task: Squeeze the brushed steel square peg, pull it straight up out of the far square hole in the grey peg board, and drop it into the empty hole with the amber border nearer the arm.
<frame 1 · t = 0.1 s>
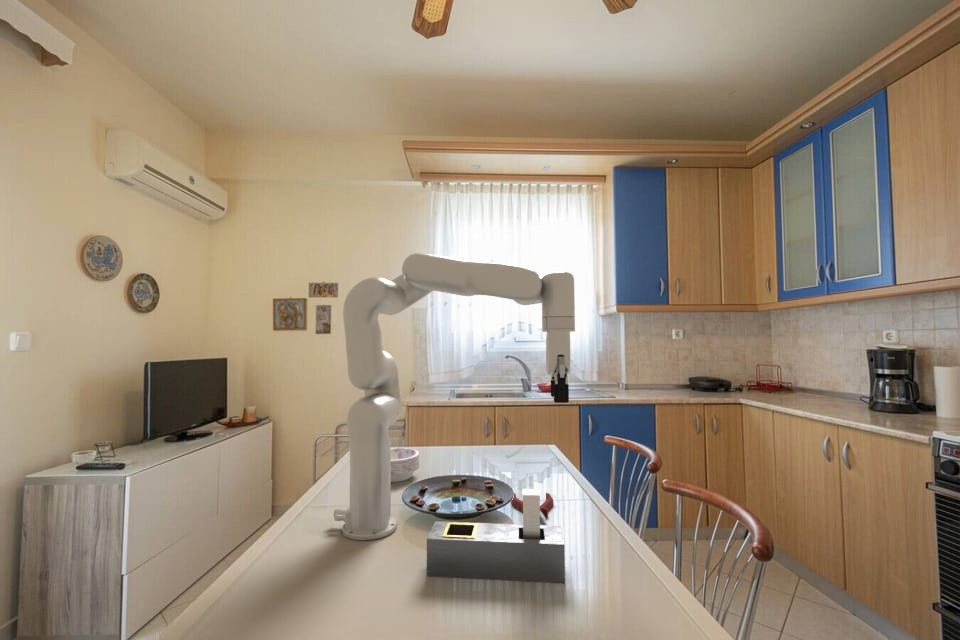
hand: (559, 399, 100), 31 cm above the table, tool pointing down, fingers open, 9 cm apart
grey peg board: (496, 568, 85), on the table
white textured bowl: (396, 478, 141), on the table
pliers: (529, 514, 113), on the table
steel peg: (531, 559, 84), point 2 cm above the table, touching grey peg board
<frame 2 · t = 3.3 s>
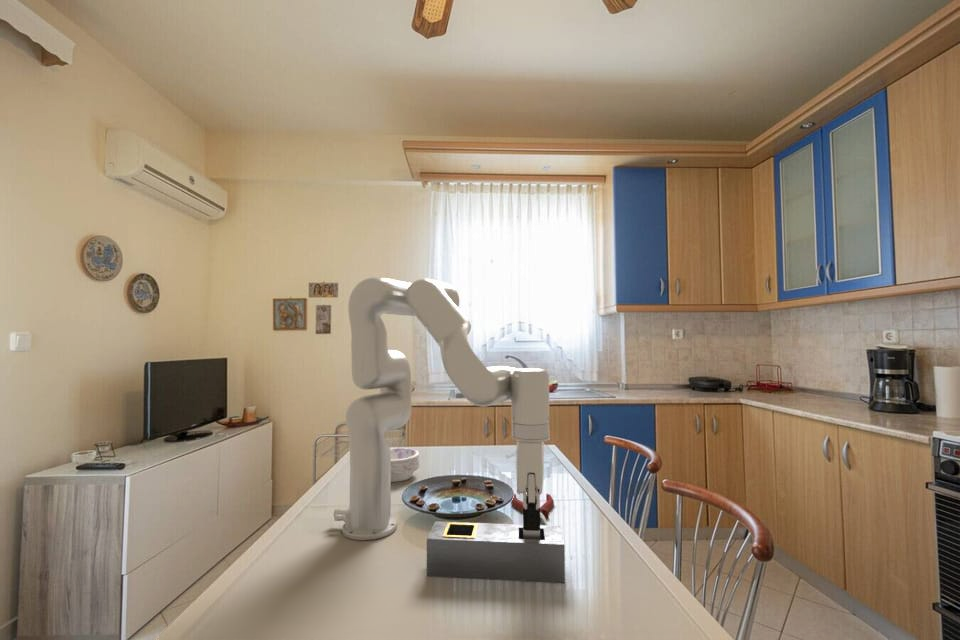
hand: (531, 524, 85), 9 cm above the table, tool pointing down, fingers closed on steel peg, 3 cm apart
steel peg: (531, 559, 84), point 2 cm above the table, touching gripper, grey peg board
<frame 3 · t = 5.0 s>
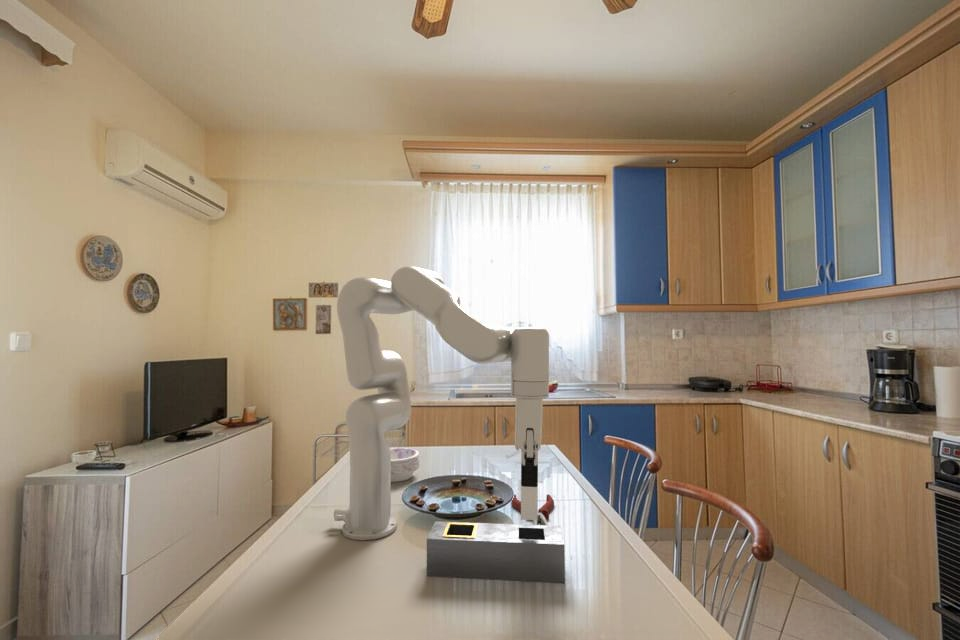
hand: (529, 481, 85), 17 cm above the table, tool pointing down, fingers closed on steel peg, 3 cm apart
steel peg: (529, 516, 85), point 10 cm above the table, touching gripper
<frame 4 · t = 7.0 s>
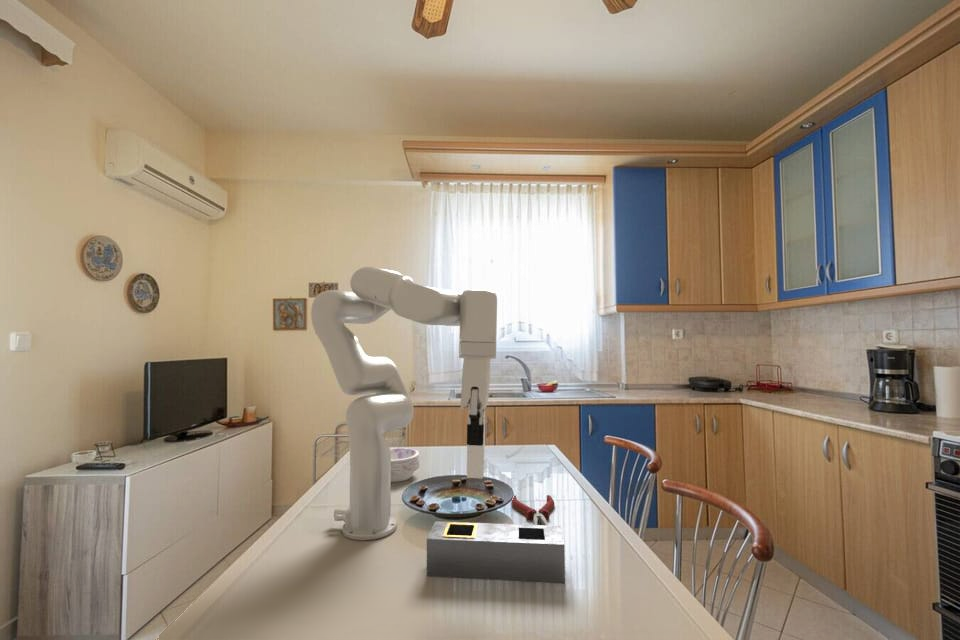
hand: (475, 441, 87), 25 cm above the table, tool pointing down, fingers closed on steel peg, 3 cm apart
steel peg: (475, 475, 86), point 18 cm above the table, touching gripper
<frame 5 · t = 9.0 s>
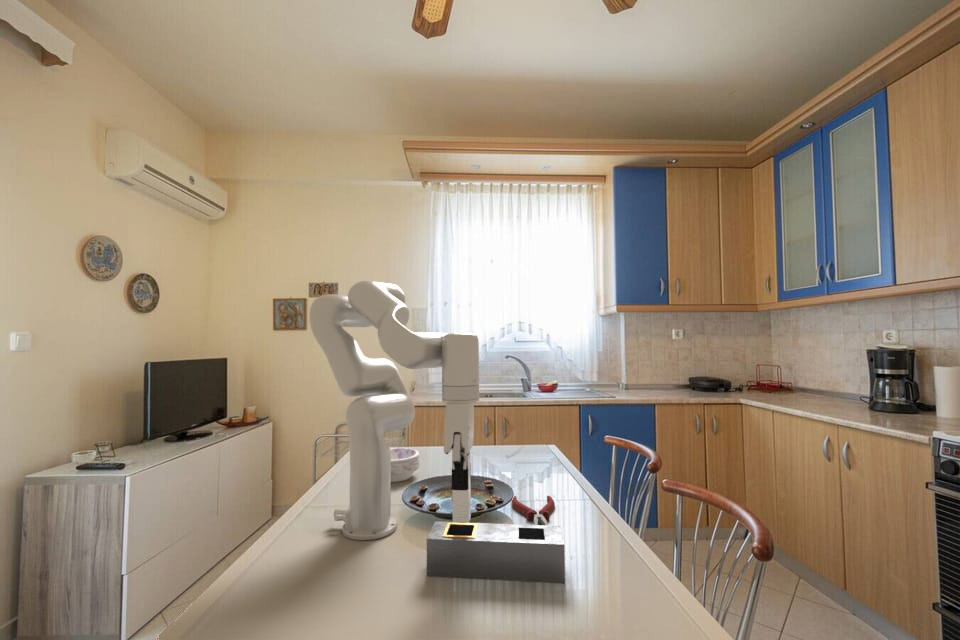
hand: (461, 485, 86), 16 cm above the table, tool pointing down, fingers closed on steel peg, 3 cm apart
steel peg: (461, 519, 86), point 9 cm above the table, touching gripper
when the fingers open (12 cm above the table, at t = 10.5 s): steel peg drops 3 cm, resting on grey peg board.
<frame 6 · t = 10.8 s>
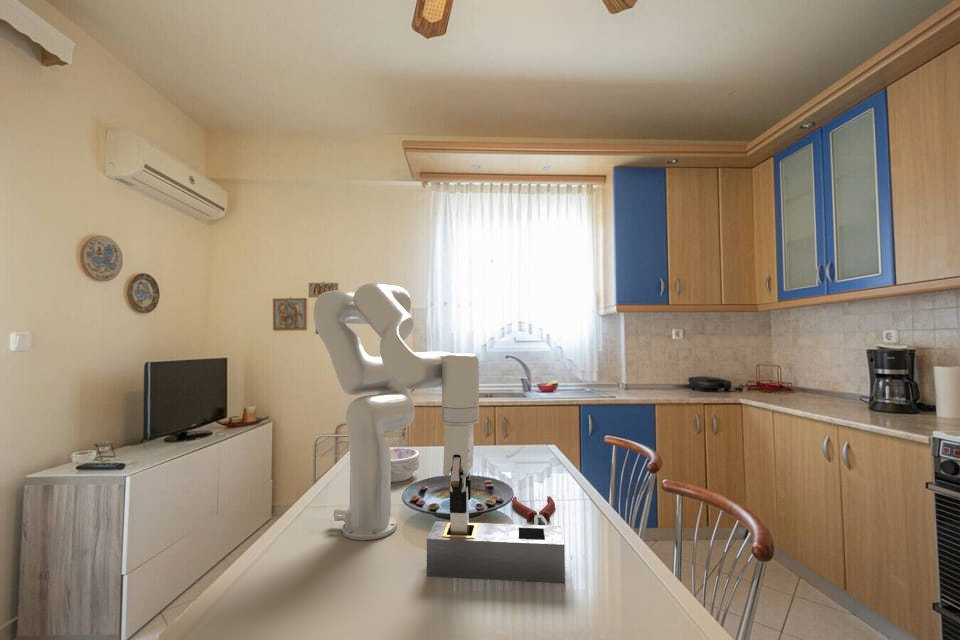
hand: (460, 504, 86), 12 cm above the table, tool pointing down, fingers open, 6 cm apart
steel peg: (460, 556, 86), point 2 cm above the table, touching grey peg board
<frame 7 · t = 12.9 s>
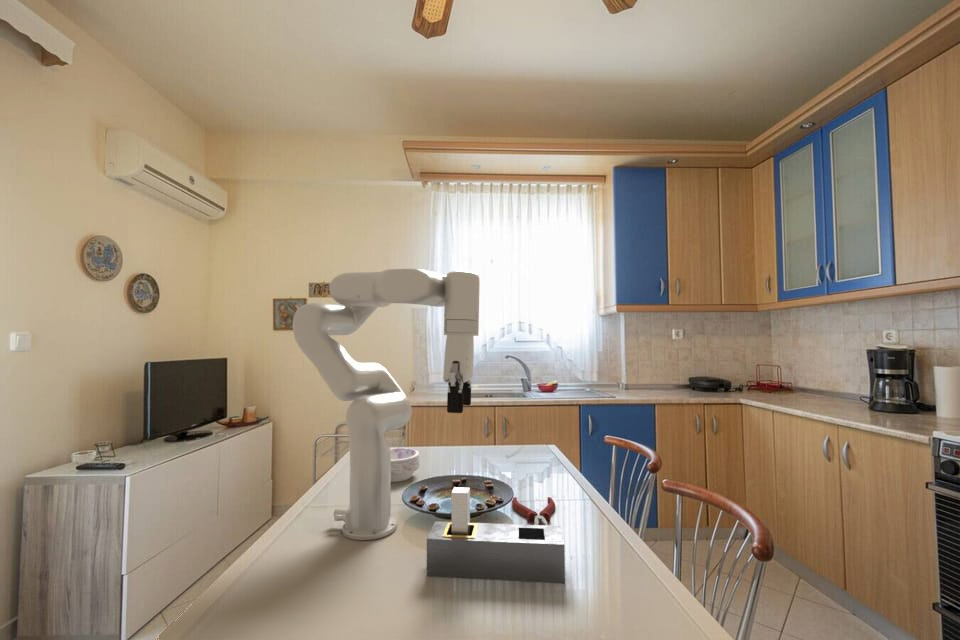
hand: (459, 408, 93), 30 cm above the table, tool pointing down, fingers open, 9 cm apart
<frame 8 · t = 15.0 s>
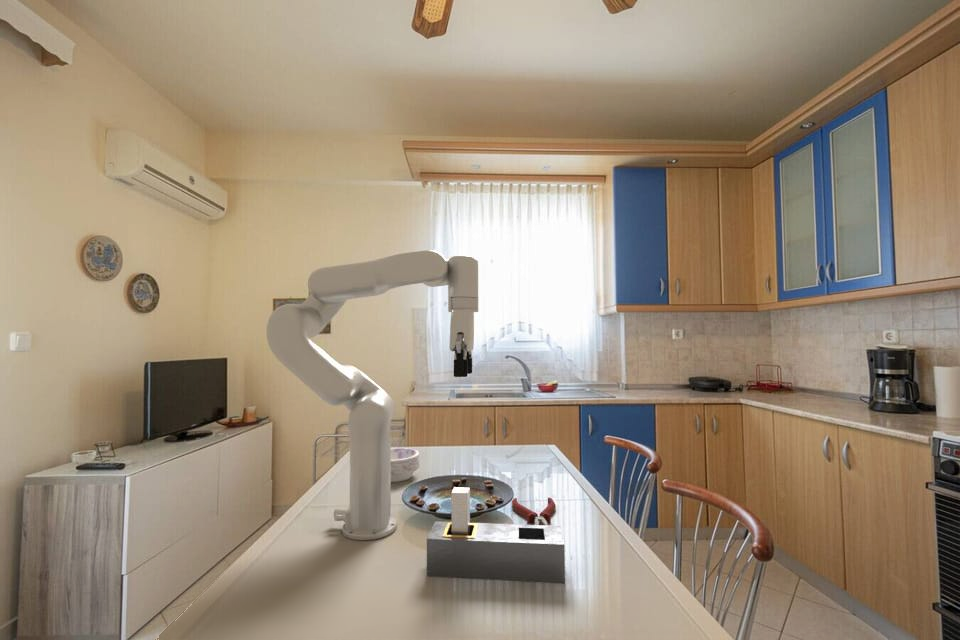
hand: (463, 375, 106), 36 cm above the table, tool pointing down, fingers open, 9 cm apart
at the end: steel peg 0.1 cm from the target spot on the grey peg board, point 2.0 cm above the grey peg board's base; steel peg tilted 0°; the gripper is holding nothing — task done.
